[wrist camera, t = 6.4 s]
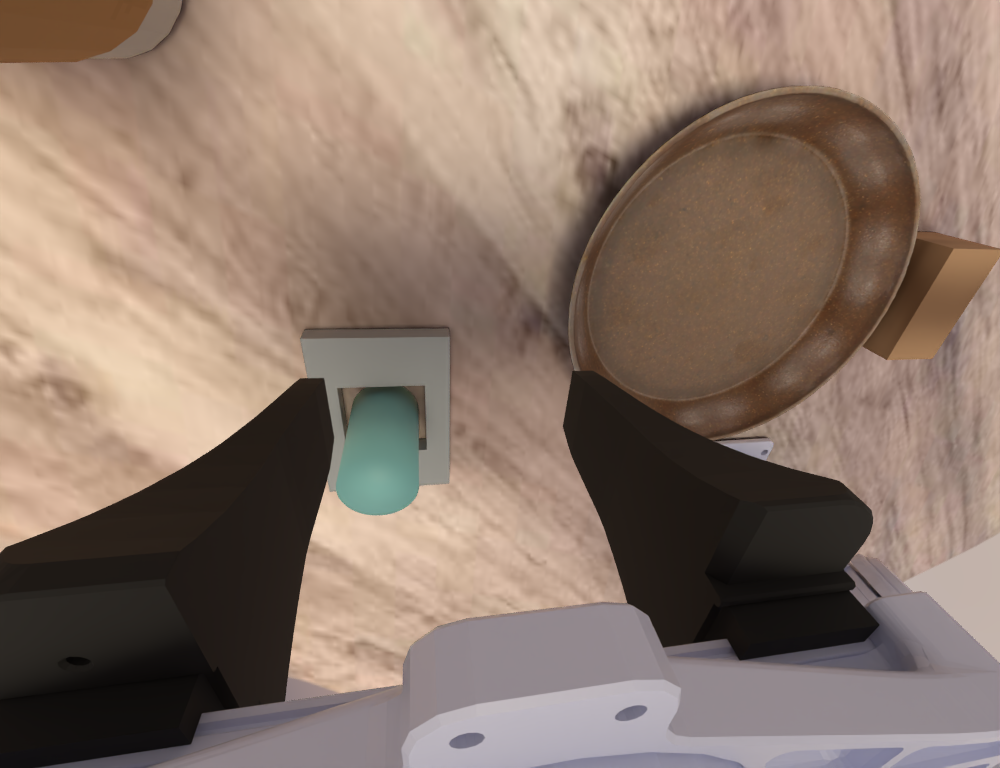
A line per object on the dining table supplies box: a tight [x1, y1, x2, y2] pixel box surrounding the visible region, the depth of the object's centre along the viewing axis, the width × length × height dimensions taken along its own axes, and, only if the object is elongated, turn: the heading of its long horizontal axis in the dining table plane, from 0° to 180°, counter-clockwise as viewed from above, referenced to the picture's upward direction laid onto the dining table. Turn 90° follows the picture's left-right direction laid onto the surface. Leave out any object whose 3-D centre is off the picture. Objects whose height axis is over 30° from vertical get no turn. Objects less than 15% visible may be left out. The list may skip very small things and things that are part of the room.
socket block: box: [300, 328, 450, 492], centre depth 24 cm, size 10×7×1 cm
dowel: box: [336, 386, 419, 515], centre depth 22 cm, size 4×4×6 cm
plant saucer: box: [568, 86, 921, 440], centre depth 23 cm, size 18×18×3 cm
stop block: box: [863, 232, 1000, 360], centre depth 24 cm, size 6×3×4 cm, turn 176°
